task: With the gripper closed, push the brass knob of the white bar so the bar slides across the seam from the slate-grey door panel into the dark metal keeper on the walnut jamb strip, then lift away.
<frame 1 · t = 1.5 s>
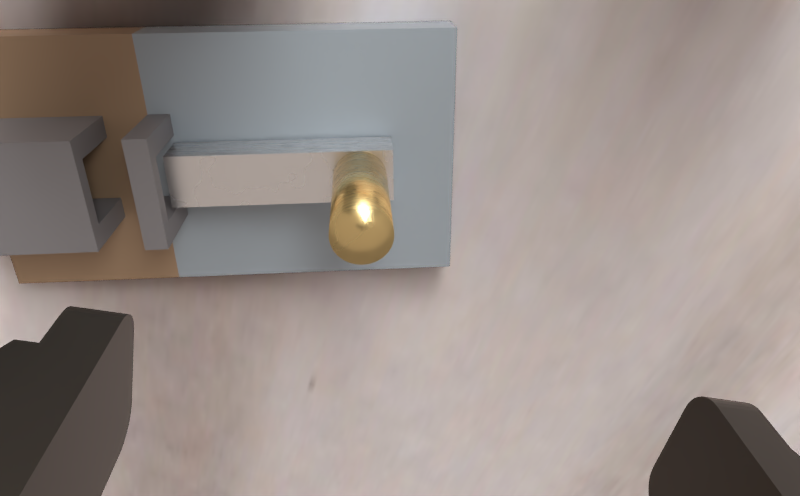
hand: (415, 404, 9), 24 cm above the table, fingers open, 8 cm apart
door and jamb lock plate: (229, 151, 32), on the table
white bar: (276, 196, 26), point 6 cm above the table, slide at 0.0 cm
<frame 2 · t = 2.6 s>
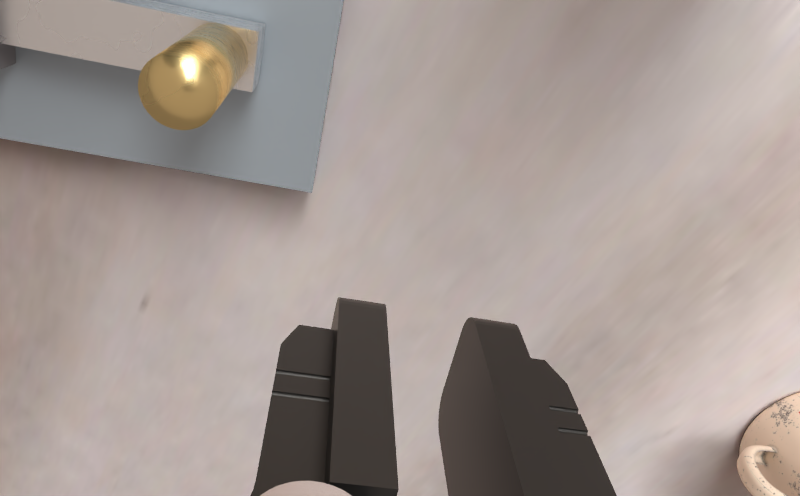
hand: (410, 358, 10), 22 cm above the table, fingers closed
door and jamb lock plate: (83, 5, 28), on the table
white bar: (105, 45, 23), point 6 cm above the table, slide at 0.0 cm
teacup with lid: (780, 430, 42), on the table
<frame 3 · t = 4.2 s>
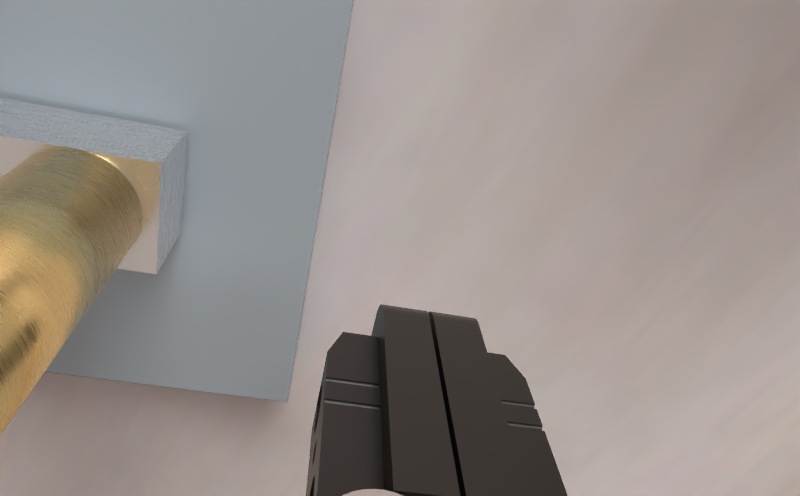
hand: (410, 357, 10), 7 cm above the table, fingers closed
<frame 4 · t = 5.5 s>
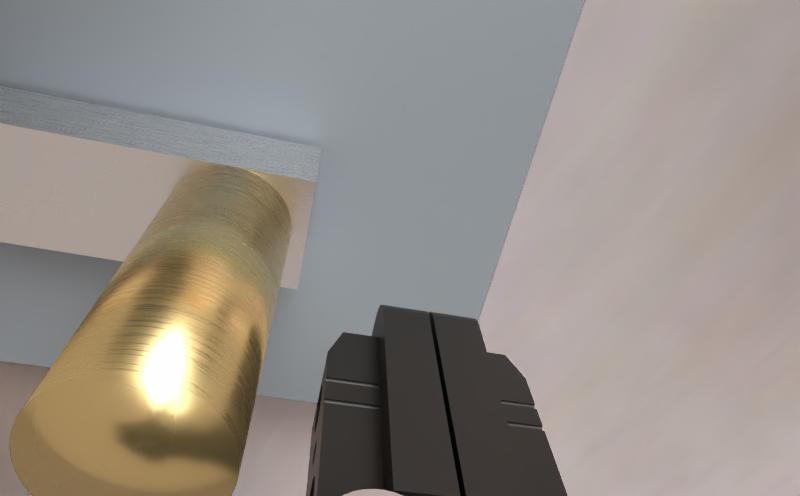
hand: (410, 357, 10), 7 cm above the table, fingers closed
door and jamb lock plate: (54, 114, 15), on the table
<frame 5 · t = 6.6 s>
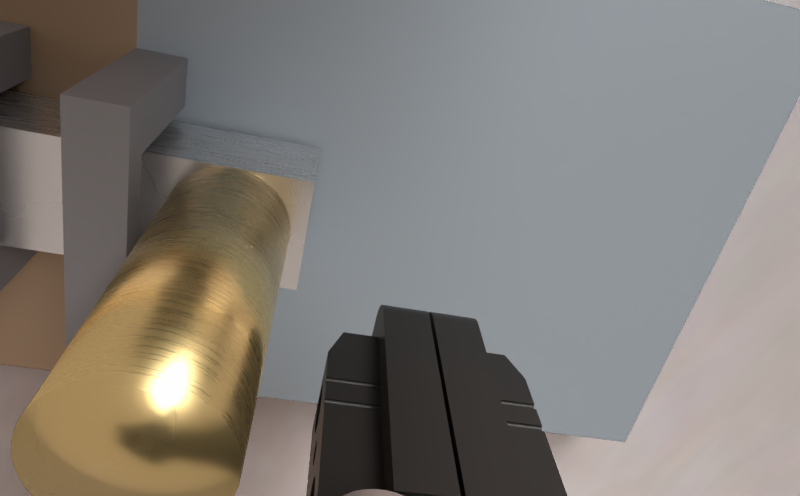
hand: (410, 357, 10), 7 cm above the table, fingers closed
door and jamb lock plate: (281, 158, 16), on the table
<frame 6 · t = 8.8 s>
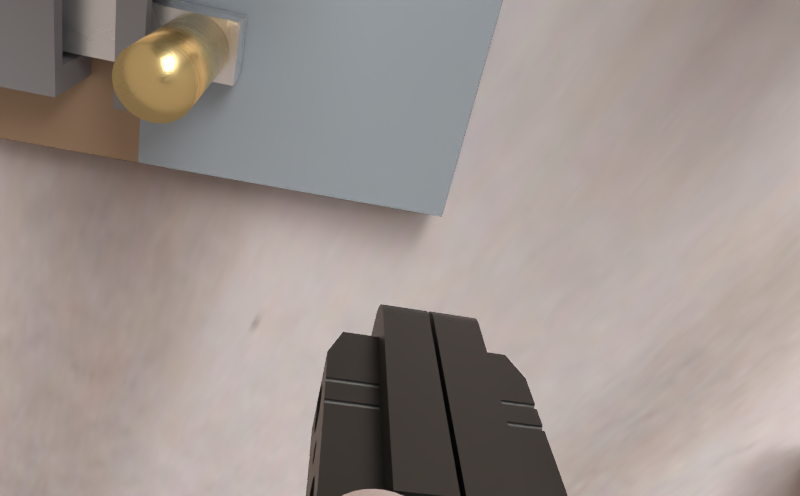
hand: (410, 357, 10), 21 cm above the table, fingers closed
door and jamb lock plate: (228, 32, 28), on the table
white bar: (79, 34, 22), point 6 cm above the table, slide at 7.0 cm
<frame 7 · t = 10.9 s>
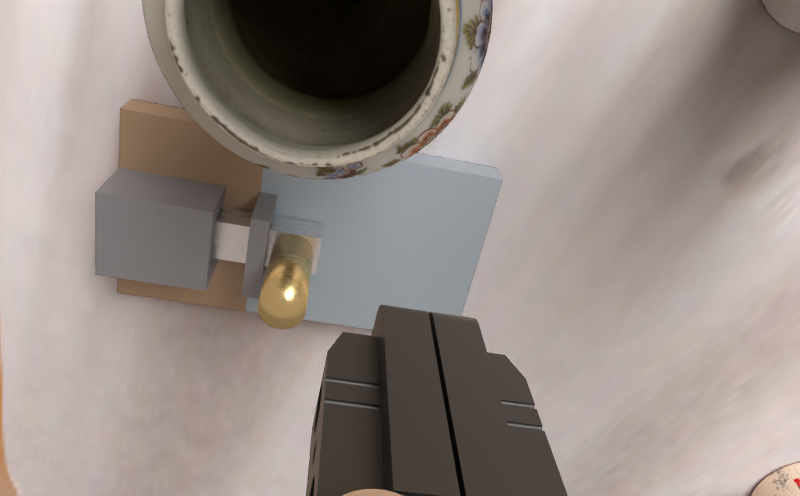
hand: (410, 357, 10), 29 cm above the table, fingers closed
door and jamb lock plate: (307, 223, 41), on the table
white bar: (225, 259, 35), point 6 cm above the table, slide at 7.0 cm
teacup with lid: (779, 489, 55), on the table
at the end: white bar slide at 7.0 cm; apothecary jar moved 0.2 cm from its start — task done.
